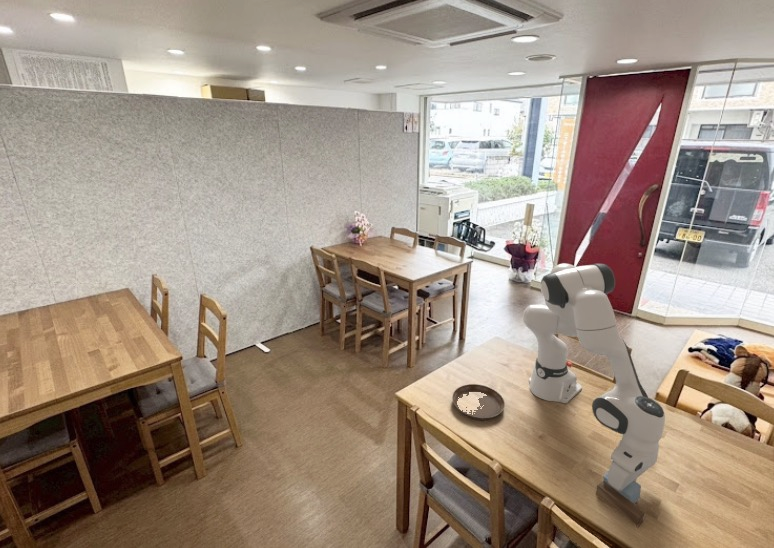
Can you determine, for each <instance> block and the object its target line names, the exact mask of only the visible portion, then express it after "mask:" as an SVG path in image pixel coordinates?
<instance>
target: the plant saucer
mask: <svg viewBox="0 0 774 548" xmlns="http://www.w3.org/2000/svg"><path fill="white" fill-rule="evenodd" d="M469 392H481V393H484V394H486V395H487V396H483V398H479V399H478V400H479V403H480V406H481V407H482V406H483V405H484V406H483V407H482V409H480V408H481V407H480V406H479V407H477V409H478V410H474V411H476V412H473V415H472V410H470V411H471V412H469V413H471V414H467V412H463V410H462V411H461V410H460V409H459V407H458V405H457V401H458V399H459V398H462V397H463V394H467V395H466V396H468V395H469ZM458 397H459V398H458ZM452 402H453V404H454V406H455V408H456V409H457V410H458V411H460V413H461V414H462V415H465V416H467V417H468V418H471V419H474V420H478V421H479V420H481V421H483V420H484V421H485V420H491V419H494V418H496V417H497V416H499V415H500V414H502V412H503V411H504V410H505V406H506V405H505V400H504V398H503V396H502V395H501V394H500V393H499V392H498V391H497V390H495V389H493V388H492V387H489V386H487V385H482V384H478V383H477V384H475V383H469V384H463V385H461V386H459V387H458V388H456V389H454V391H453V394H452ZM466 408H467V407H466ZM466 411H467V410H466ZM474 413H475V414H474Z"/></svg>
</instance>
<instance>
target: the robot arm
mask: <svg viewBox="0 0 774 548" xmlns="http://www.w3.org/2000/svg"><path fill="white" fill-rule="evenodd" d="M615 287H616V277H615V274H614V272H613V270H612V269H611V267H609V266H608V264H606V263H605V264H604V263H591V264H588V265H587V264H586V265H579V266H578V265H577V266H576V265H573V264H570V263H565V262H564V263H558V264H556V265H555V266H554V267H553V268H552V269H551V271H550V273H548V274H546V275H544V276H543V277H542V279H541V280H540V291H541V294H542V296H543V298H544V302H545V304H541V303H539V304H536V303H535V304H529V305H528V306H527V307H525V309H524V311H523V313H522V314H523V315H522V319H523V323H524V325H525V326H526V327H527V328H528V329H529V330H530V331H531V333H533V334H534V336H535V338H536V341H537V347H538V350H537V357H536V360H535V363H534V364H535V365H534V366H533V369H532V373H531V376H530V377H529V378H528V382H529V391H530V392H531V393H532V394H533V395H534V396H535V397H537V398H540V399H542V400H544V401H549V402H559V403H562V404H568V403H569V402H570V401H571V400H572V399H573V398H574V397H575V396H576V395H577V394H578V393H580V391H582V389H583V388H582V385H581V384H580V383H579V382H578V381H577V376H576V374H575V373H574V372H572V371H571V370H570V369H568V368H572V367H573V363H572V362H570V361H568V354H569V348H568V346H567V344H566V343H565V342H564V341H563V340H562V339H561V338H558V337H557V336H556V335H559V336H560V335H561V336H566V337H571V338H577V340H578V341H579V344H580V346H581V347H582V348H583V349H584V350H585V351H586V352H588V353H591V354H594V355H597V356H604V357H606V358H607V359H608V361H609V363H610V367H611V369H612V373H613V376H614V379H615V385H614V387H613V389H611V390H609V391H607V392H605V393H603V394H601V395H599V396H598V397H596V398H595V399H593V400H592V405H591V410H592V413H593V416H594V418H595V419H596V421H598V423H600V424H601V425H602V426H604V427H606V428H608V429H610V430H612V431H613V432H616V433H618V434H620V435H621V439H620V440H619V442H618V445H617V446H616V447H615V449H614V450H613V451H612V453H611V454H610V457H609V458H610V460H611V462H610V465H609V470H608V471H609V474H608V483H609V484H610V485H611V486H612V487H614V488H615V489H616V490H618V491H622V490H623V489H624V488H626V487H627V486H628V485H629V484H630V483H632V482H633V481H636V482H637V479H639V477H640V476H642V475H643V474H644V473H645V472H647V471H649V470H650V468H652V467H653V466H654V465H655V463H656V462H657V460H658V456H659V449H660V444H659V442H660V440H662V437H663V434H664V430H665V424H666V422H665V421H666V414H665V411H664V409H663V407H662V405H661V404H659V403H658V401H656V400H654V399H652V398H650V397H648V394H647V392H646V391H645V389H644V387H643V386H642V384H641V382H640V379H639V377H638V374H637V371H636V368H635V365H634V361H633V359H632V356H631V353H630V349H629V347H628V345H627V343H626V342H625V340H624V339H623V338H622V337H621V334H620V332H619V328H618V324H617V320H616V316H615V312H614V309H613V306H612V304H611V302H610V299H609V298H608V294H610V293H612V292H614V289H615Z"/></svg>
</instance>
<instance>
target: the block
mask: <svg viewBox="0 0 774 548" xmlns="http://www.w3.org/2000/svg"><path fill="white" fill-rule="evenodd" d="M608 474H609V470H608V471H607V472H605V474H603V477H602V479H603V480H602V482H603V481H604V482H605V483H607V484H608V485H609V486H611V485H610V484H609V483H608ZM641 485H642V484H640V483H639V482H637V480H636V481H633V482H632V483H630V484H629V485H628V486H627V487H626V488H624V489H623V490H622V491H618V490H616V489H615V488H614V487H612V486H611V487H612V488H613V489H615V490H616V491H617V492H619V493H620V494H621V495H623V496H624V497H625V498H627V499H628V500H629V501H631V502H632V503H633V504H635V505H636V503H637V501H639V500H640V498H641V490H642V489H641V488H642V487H641Z"/></svg>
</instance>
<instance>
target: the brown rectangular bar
mask: <svg viewBox="0 0 774 548" xmlns="http://www.w3.org/2000/svg"><path fill="white" fill-rule="evenodd" d="M595 495H596V496H597V497H599V498H600V499H601V500H603V502H605V503H606V504H608V506H609V507H611V508H612V509H613V510H615V511H616V512H617V513H619V514H620V515H621V516H623V518H625V519H626V520H628V522H630V523H631V524H632V525H633V526H635V527H636V528H638V527H639V526H640V525H641V524H642V523H644V518H645V515H646V512H645V511H644V510H642V509H641V508H640V507H639V506H637V505H636V503H635V504H633V503H632V502H631V501H629V500H628V499H627V498H625V497H624V496H623V495H621V494H620V493H619V492H617V491H616V490H615V489H613V488H612V487H611V486H609V485H608V484H607V483H605V482H604V481H603V480H602V482H600V483H598V484H597V487H596V491H595Z"/></svg>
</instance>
